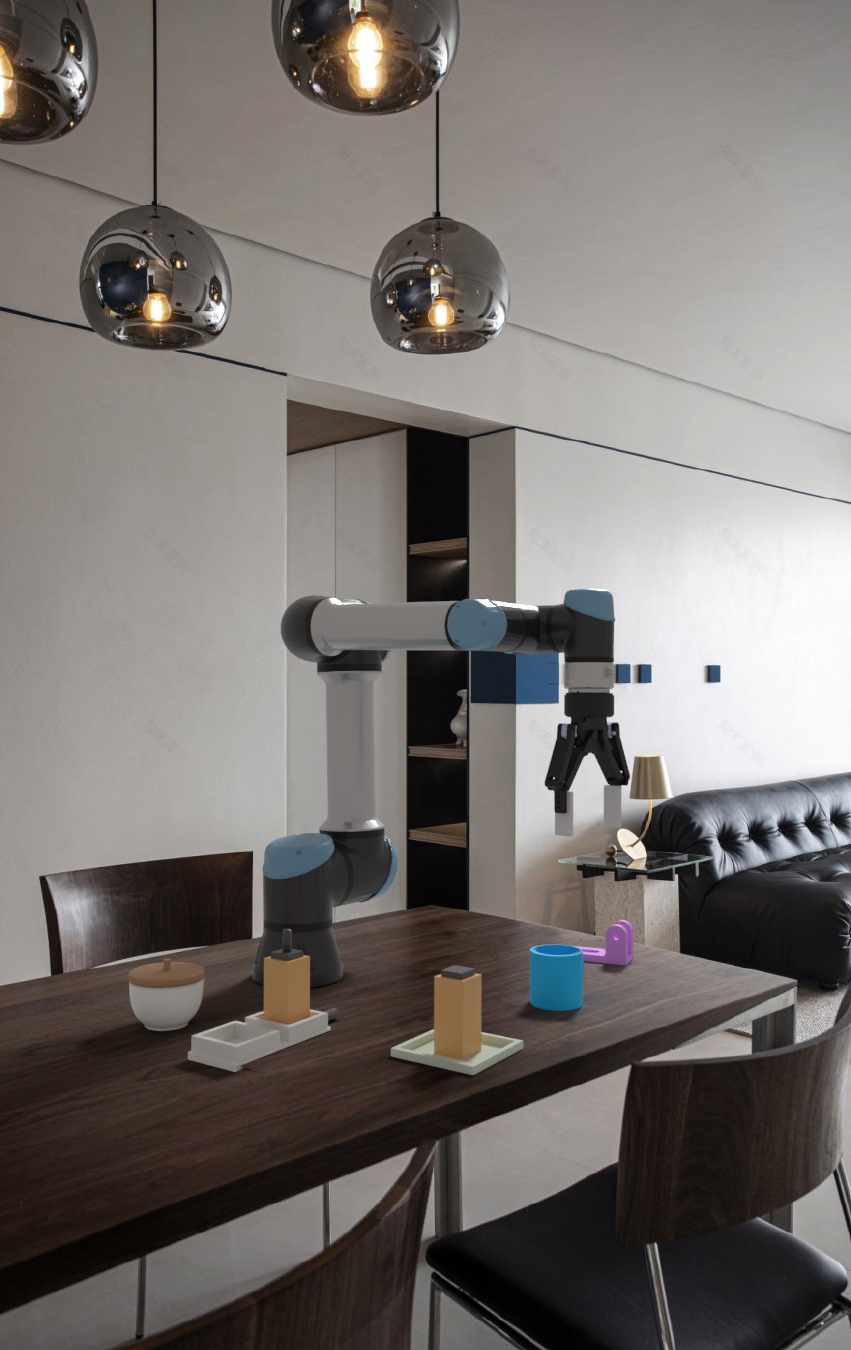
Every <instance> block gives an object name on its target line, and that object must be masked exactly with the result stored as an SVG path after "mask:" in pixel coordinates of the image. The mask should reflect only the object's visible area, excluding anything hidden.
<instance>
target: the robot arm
mask: <svg viewBox="0 0 851 1350" xmlns="http://www.w3.org/2000/svg"><path fill="white" fill-rule="evenodd" d="M615 622H616V617H615V606H614V596H613V594H612V593H611V591H609V590H608V589H607V590H606V589H603V588H602V589H601V588H578V589H569V590H567V591H566V592H565V593H564V597H563V603H560V604H551V605H550V604H549V605H530V604H522V603H513V602H503V601H496V600H490V599H488V598H479V597H476V598H475V597H472V598H465V599H462V600H460V601H459V600H449V601H448V600H447V601H443V600H442V601H415V602H414V601H413V602H412V601H410V602H409V601H408V602H406V601H405V602H403V601H402V602H374V603H373V602H370V601H365V600H362V599H360V598H356V599H355V598H344V597H343V598H342V597H333V596H323V595H313V594H312V595H308V596H303V597H302V596H301V597H300V598H298V599H296V600H295V601H293V602H292V603H291V604H289V605H288V606H287V609H285V611H284V614H282V618H281V622H280V635H281V640H282V641H283V644H284V646H285V647H286V649H287V650H288V651H289V652H290V653H291V654H292V655H293V656H295V657H296V658H298V659H300V660H303V661H304V662H305V661H306V662H310V663H316V675H317V676H318V677H319V678H320V679H321V680H322V681H323V682H324V684H325V714H326V715H325V720H326V723H325V725H326V728H325V729H326V732H325V733H326V779H327V780H326V781H327V783H326V784H327V785H326V787H327V788H326V789H327V791H326V792H327V795H326V796H327V797H326V798H327V817H326V819H325V820H324V821H323V822H322V824H321V825H319V830H318V832H317V833H316V832H310V833H309V832H307V833H306V832H305V833H300V834H289V835H286V836H283V837H280V838H279V837H278V838H276V839H274V840H272V841H271V842H269V844H268V845H267V846H266V847H265V850H264V853H263V854H264V856H263V857H264V858H263V866H262V870H261V871H262V882H263V883H262V886H263V887H262V890H263V893H262V894H263V895H262V897H263V900H262V902H263V903H262V904H263V905H262V906H263V911H262V912H263V914H262V915H263V924H262V925H263V929H262V936H261V937H260V941H259V945H258V948H257V952H256V955H255V960H253V963H252V975H251V976H252V980H253V981H254V982H255V983H257V984H258V985H262V986H264V958H266V957H270V956H271V952H273V951H276V950H280V949H283V929H292V948H291V949H296V950H302V951H303V955H306V956H310V988H314V987H315V988H316V987H321V986H325V985H326V986H327V985H330V984H333V983H337V982H338V981H340V980H342V978H344V977H343V976H344V962H343V959H342V958H341V956H340V952H339V947H338V943H337V941H336V937H335V934H334V933H335V932H334V930H333V929H334V923H333V922H334V919H333V918H334V908H337V907H341V906H346V905H351V904H355V903H365V902H367V901H371V900H372V899H374V898H378V897H380V896H382V895H383V894H385V893H386V892H388V890H389V889H390V888H391V886H392V885H393V884H394V882H395V879H396V877H397V872H398V866H399V859H398V853H397V849H396V848H395V846H394V845H392V844H393V842H392V840H391V839H390V838H388V836H386V835H385V824H383V822H381V821H380V820H379V819H378V817H377V814H376V811H377V809H376V806H377V805H376V761H375V760H376V758H375V757H376V754H375V752H376V750H375V703H374V702H375V701H374V700H375V699H374V697H375V696H374V695H375V692H374V691H375V690H374V684H375V682H376V681H377V680H378V678H379V677H380V676H381V675H382V673H383V672H382V671H383V669H382V666H383V664H382V663H384V661H385V660H387V658H388V657H389V653H391V652H392V651H463V652H464V651H465V652H466V651H468V652H471V651H473V652H478V651H479V652H480V651H481V652H502V653H504V654H510V655H511V654H512V655H520V656H524V655H528V654H552V653H554V654H555V653H557V654H563V655H564V657H563V658H564V665H563V666H564V668H563V669H564V670H563V671H564V672H563V688H564V689H565V690H567V692H566V693H565V694H564V695H563V696H564V697H563V699H564V701H563V702H564V704H563V707H564V708H563V709H564V710H563V712H564V713H563V714H564V716H565V717H567V718H570V723H560V722H559V723H558V724H557V731H556V740H555V743H554V746H553V750H552V754H551V758H550V762H549V764H548V765H549V766H548V768H547V773H546V775H545V780H544V786H545V787H546V788H547V790H548V791H553V792H554V793H553V794H554V797H553V800H554V805H553V806H554V835H555V836H561V837H562V836H563V837H574V791H570V789H571V787H572V785H573V783H574V779H575V778H576V776H577V774H578V771H579V769H580V767H581V764H582V762H583V759H584V758H585V757H587V756H588V755H589V754H592V755H594V757H595V760H596V762H597V764H598V766H599V768H600V770H601V772H602V774H603V776H604V780H605V781H606V783H607V784H605V785H603V828H612V829H622V786H628V785H629V781H630V780H631V779H630V778H631V774H630V771H629V767H628V761H627V759H626V758H627V757H626V755H625V751H624V747H623V743H622V739H621V735H620V734H621V733H620V724H619V722H618V721H617V722H614V721H613V722H610V721H608V719H607V718H613V717H614V715H615V694H614V693H613V692H612V693H611V690H612V689H614V688H615V681H614V680H615V678H614V676H615V674H616V671H615V669H614V668H615V666H614V665H615V663H614V662H615V657H614V656H615V655H614V653H615V651H614V650H615Z"/></svg>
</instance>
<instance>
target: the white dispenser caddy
mask: <svg viewBox="0 0 851 1350" xmlns="http://www.w3.org/2000/svg"><path fill="white" fill-rule="evenodd" d="M291 948H292V929H283V949H280V950H276V951H273V952H271V956H270V957H266V958H264V985H263V1011H259V1012H256V1013H254V1014H250V1015H248V1016H245V1017H244V1022H243V1021H239V1020H233V1021H230V1022H227V1023H224V1024H221V1025H219V1026H215V1027H213V1028H209V1029H206V1030H204V1031H201V1032H198V1033H195V1034H192V1035H191V1036H190V1037H191V1038H190V1039H191V1041H190V1042H191V1045H190V1046H191V1048H190V1049H191V1050H190V1051H187V1060H188V1061H192V1062H195V1063H199V1064H203V1065H207V1066H211V1067H215V1068H219V1069H222V1070H225V1071H229V1072H232V1073H233V1072H234V1073H237V1072H239V1071H241V1070H244V1069H247V1066H243V1065H246V1064H248V1063H251V1062H254V1061H256V1060H259V1059H261V1058H264V1057H266V1056H268V1055H271V1054H274V1053H276V1052H278V1051H282V1050H284V1049H286V1048H288V1047H291V1046H293V1045H296V1044H299V1043H301V1042H305V1041H306V1040H310V1039H311V1038H312V1039H313V1038H315V1037H316V1036H319V1035H322V1034H324V1033H327V1032H329V1031H331V1030H332V1027H331V1026H329V1022H332V1021H333V1020H336V1019H338V1018H339V1015H340V1013H339V1009H337V1008H336V1007H331V1008H329V1009H326V1010H323V1011H320V1010H316V1009H315V1010H314V1009H311V987H310V956H306V955H303V951H302V950H296V949H291Z"/></svg>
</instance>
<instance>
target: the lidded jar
mask: <svg viewBox="0 0 851 1350" xmlns="http://www.w3.org/2000/svg"><path fill="white" fill-rule="evenodd" d="M171 960H172V959H171V958H163V961H162V962H154V963H149V964H144V965H139V966H137V967H134V968H133V969H131V970H130V971H129V972H128V977H127V978H128V979H127V980H128V982H129V983H128V984H129V985H128V987H129V988H128V990H129V991H128V992H129V993H128V995H129V1000H130V1005H131V1008H132V1011H133V1013H134V1015H135V1017H136V1018H137V1019H138V1021H140V1022H141V1023H142V1024H143V1025H144V1027H145V1028H146V1030H149V1031H152V1032H153V1031H154V1032H156V1031H157V1032H171V1031H176V1030H180V1029H184V1028H185V1027H187V1026H188V1025H189V1022H190V1021H191V1020H192V1019H193V1018H194V1017H195V1016H196V1014H197V1013H198V1011H199V1010H200V1007H201V1004H202V1001H203V997H204V990H205V989H204V988H205V977H206V976H205V975H206V969H205V968H204V966H201V965H200V964H197V963H193V962H184V961H183V962H182V961H171Z"/></svg>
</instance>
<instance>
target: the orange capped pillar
mask: <svg viewBox="0 0 851 1350" xmlns="http://www.w3.org/2000/svg"><path fill="white" fill-rule="evenodd" d="M475 972H476V968H472V967H467V966H462V965H455V964H454V965H450V966H448V967H446V968H443V969H440V974H438V975H437V974H436V975H435V976H433V978H434V980H433V986H434V987H433V998H434V999H433V1007H434V1008H433V1029H434V1053H435V1054H439V1055H444V1056H448V1057H453V1058H457V1059H462V1060H464V1059H466V1058H468V1057H470V1056H472V1055H474V1054H476V1053H478V1052H480V1051H481V1032H482V997H483V996H482V989H483V988H482V977H483V976H482V974H481V973H475Z"/></svg>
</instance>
